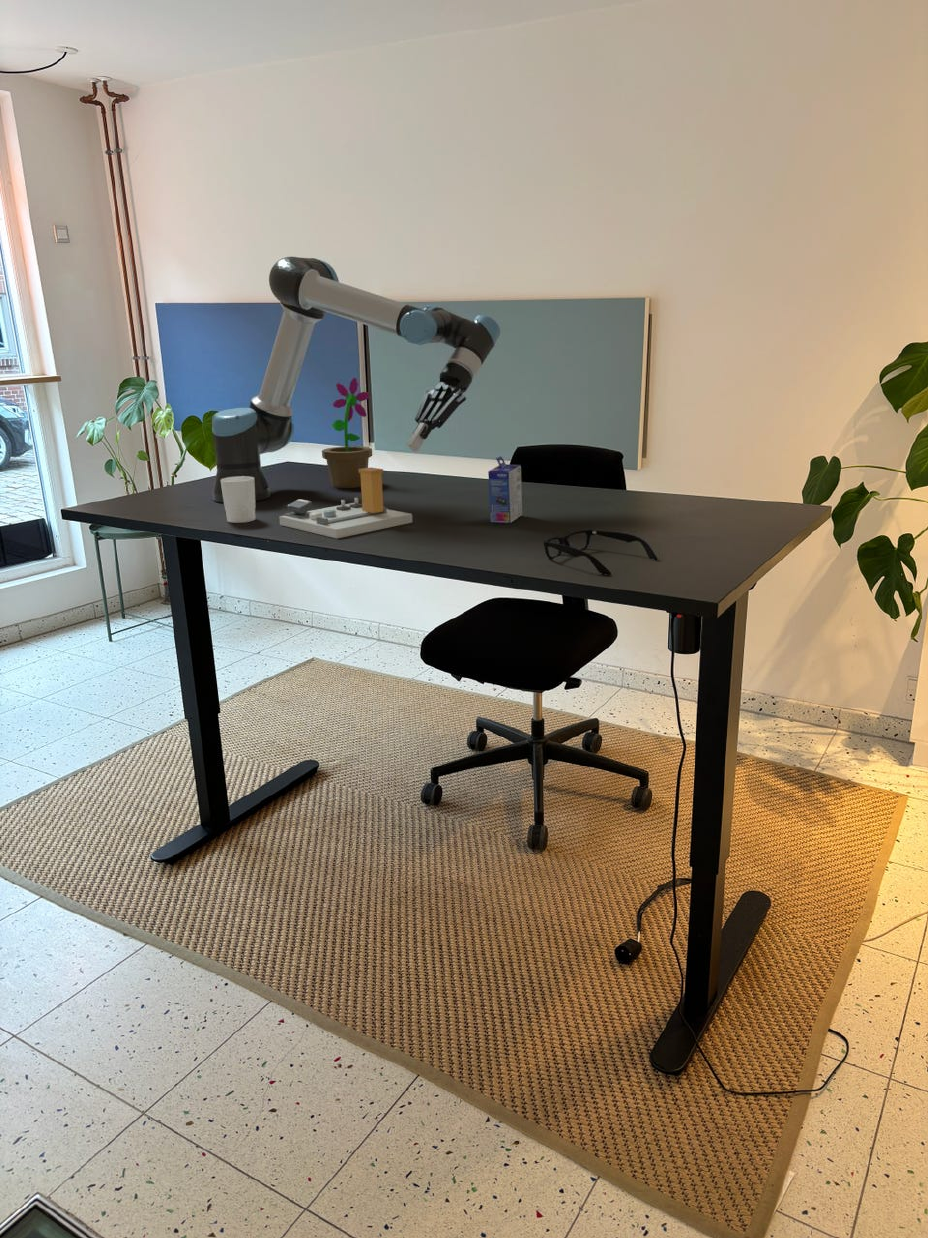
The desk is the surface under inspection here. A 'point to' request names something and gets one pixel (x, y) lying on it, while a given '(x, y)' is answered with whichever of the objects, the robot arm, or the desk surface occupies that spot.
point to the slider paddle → (371, 489)
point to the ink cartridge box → (505, 492)
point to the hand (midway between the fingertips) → (412, 447)
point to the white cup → (239, 498)
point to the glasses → (577, 552)
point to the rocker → (300, 506)
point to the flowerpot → (347, 458)
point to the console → (344, 520)
